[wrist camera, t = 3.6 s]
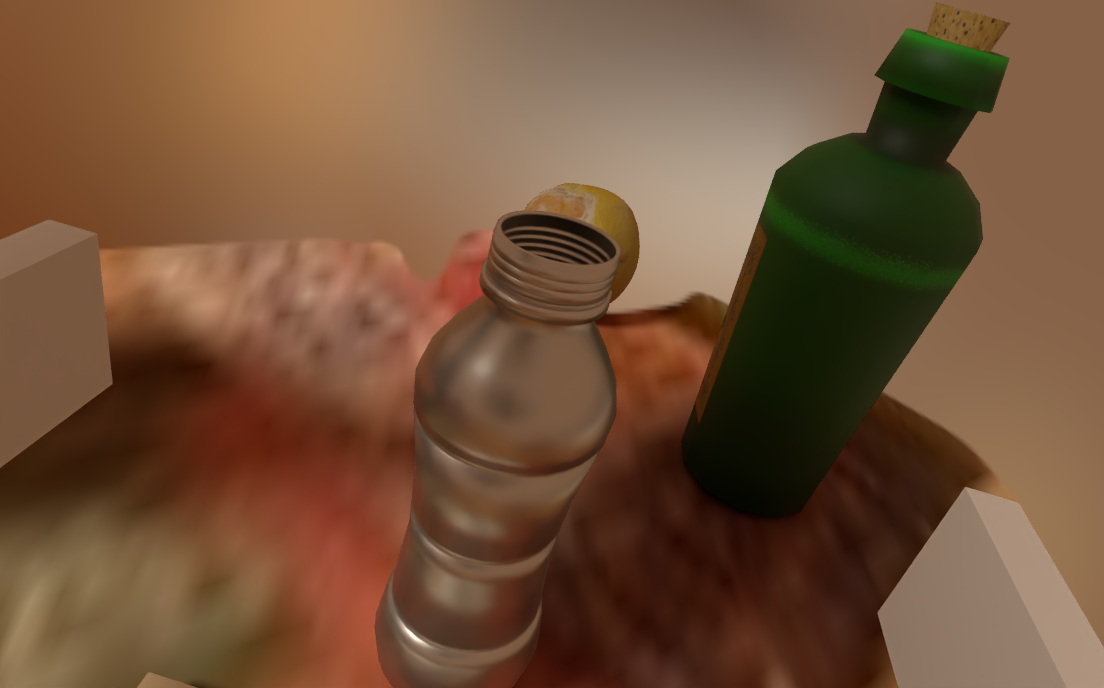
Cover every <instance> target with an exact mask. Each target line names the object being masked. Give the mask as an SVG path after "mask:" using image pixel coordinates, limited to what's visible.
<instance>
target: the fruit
mask: <svg viewBox="0 0 1104 688" xmlns="http://www.w3.org/2000/svg"><path fill="white" fill-rule="evenodd" d="M525 210H529V211H545V212H552V213H558V214H562V215H566V216H570V217H573V218H576V219H579V220H582V221H584V222H587V223H589V224H592V225H594V226H596V227H598V228H600V229H601V230H603V231H604V232H606V233H608V234H609V235H610V236H611V237H612V238H614V239H615V240H616V242H617V243H618V244H619V246H620V248H621V256H620V263H619V266H618V269H617V272H616V275H615V278H614V281H613V284H612V287H611V290H612V298H611V301H610V303H611V302H612V301H614V300H615V299H616V298H617V297H618V296H619V295H620V294H621V293H622V292H623V291H624V289H625V288H626V287H627V285H628V284H629V282H630V280H631V279H632V277H633V275H634V272H635V270H636V267H637V263H638V258H639V247H640V245H639V232H638V226H637V223H636V220H635V217H634V214H633V212H632V210H631V209H630V207H629V206H628V205H627V204H626V203H625V201H624V200H622V199H621V198H620V197H618V196H617V195H615V194H614V193H612V192H610V191H608V190H605V189H602V188H598V187H594V186H588V185H580V184H574V183H571V184H570V183H565V184H561V185H559V186H556V187H554V188H553V189H549V190H546V191H543V192H541V193H540V194H539V195H538V196H536V197H535V198H534V199H533V200H532V201H531V202H530V203H529V204H528V205H527V207H526V208H525ZM525 210H524V211H525Z"/></svg>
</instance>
